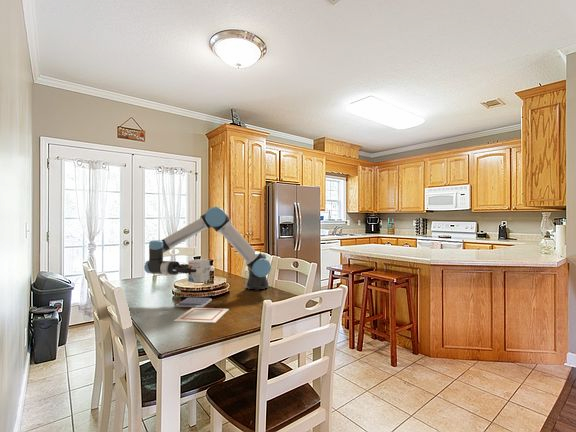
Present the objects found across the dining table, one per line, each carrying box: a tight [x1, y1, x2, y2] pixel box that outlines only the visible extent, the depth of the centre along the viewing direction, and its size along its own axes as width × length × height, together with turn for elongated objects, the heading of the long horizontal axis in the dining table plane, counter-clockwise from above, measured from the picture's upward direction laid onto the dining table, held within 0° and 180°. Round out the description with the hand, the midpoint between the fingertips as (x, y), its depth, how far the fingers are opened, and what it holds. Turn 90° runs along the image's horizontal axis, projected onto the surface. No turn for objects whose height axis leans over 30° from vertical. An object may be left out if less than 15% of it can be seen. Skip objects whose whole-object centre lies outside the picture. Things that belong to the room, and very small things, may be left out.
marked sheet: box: [173, 307, 230, 324], centre depth 150 cm, size 20×20×1 cm
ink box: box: [187, 258, 211, 283], centre depth 173 cm, size 9×8×12 cm
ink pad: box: [175, 296, 213, 308], centre depth 170 cm, size 15×14×2 cm
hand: (206, 269), depth 172 cm, fingers closed on ink box, 9 cm apart
